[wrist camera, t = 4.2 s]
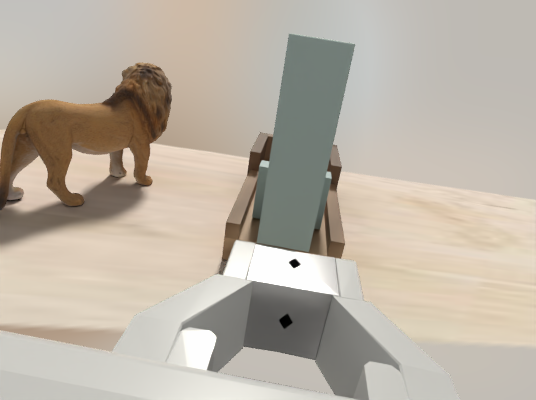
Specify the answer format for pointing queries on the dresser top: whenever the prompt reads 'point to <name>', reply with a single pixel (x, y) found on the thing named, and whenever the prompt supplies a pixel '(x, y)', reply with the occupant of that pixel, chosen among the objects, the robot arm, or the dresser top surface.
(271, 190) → the grey-green l-shaped block
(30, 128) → the lion figurine
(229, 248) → the lane
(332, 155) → the dark brown open box
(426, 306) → the dresser top surface
